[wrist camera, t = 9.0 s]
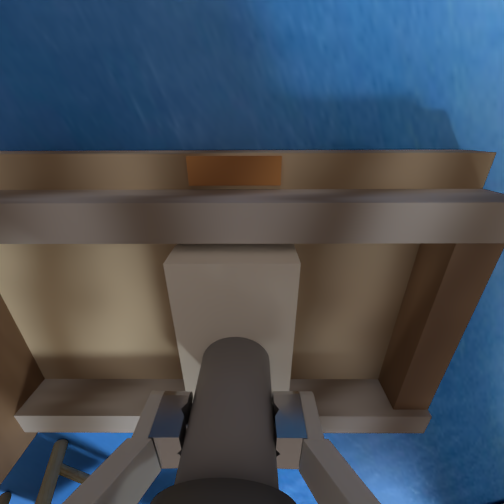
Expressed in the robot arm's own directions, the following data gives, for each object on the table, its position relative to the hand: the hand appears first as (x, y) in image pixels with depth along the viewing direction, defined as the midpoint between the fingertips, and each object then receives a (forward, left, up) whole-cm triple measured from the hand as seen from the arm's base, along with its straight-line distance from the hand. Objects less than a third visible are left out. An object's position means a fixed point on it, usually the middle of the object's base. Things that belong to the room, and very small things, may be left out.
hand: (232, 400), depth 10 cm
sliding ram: (0, 0, -5) cm, 5 cm away
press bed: (+3, 0, -7) cm, 8 cm away
